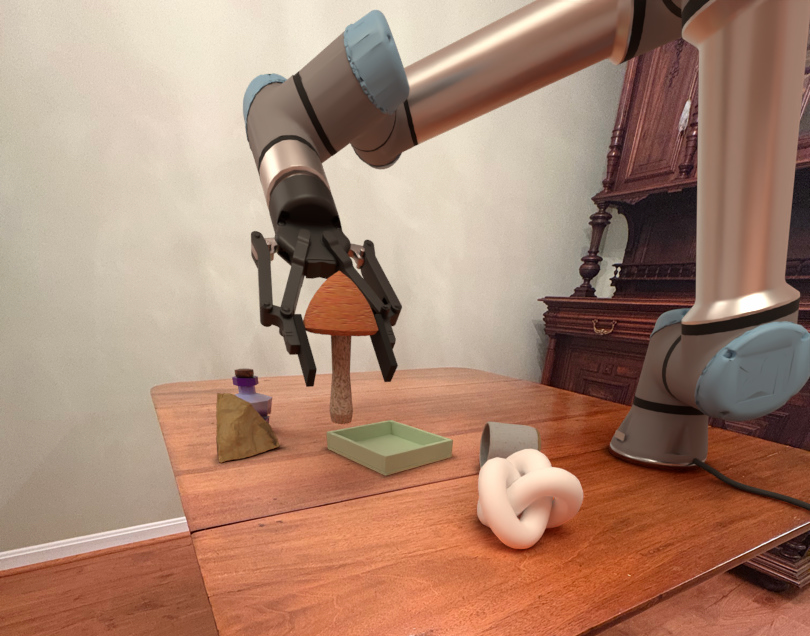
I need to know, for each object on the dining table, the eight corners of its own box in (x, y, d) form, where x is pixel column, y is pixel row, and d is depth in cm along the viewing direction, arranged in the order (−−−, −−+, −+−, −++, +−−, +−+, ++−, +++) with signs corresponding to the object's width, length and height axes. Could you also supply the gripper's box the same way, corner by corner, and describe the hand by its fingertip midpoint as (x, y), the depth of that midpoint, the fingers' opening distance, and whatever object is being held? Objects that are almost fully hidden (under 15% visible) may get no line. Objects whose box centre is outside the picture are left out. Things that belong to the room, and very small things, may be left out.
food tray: (451, 457, 73) (453, 439, 71) (385, 476, 65) (385, 456, 63) (391, 435, 84) (391, 419, 82) (327, 449, 75) (326, 431, 74)
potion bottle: (231, 443, 77) (218, 373, 71) (228, 431, 84) (216, 366, 78) (280, 439, 80) (271, 371, 74) (273, 427, 87) (265, 364, 81)
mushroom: (387, 429, 47) (386, 269, 40) (314, 434, 45) (299, 266, 38) (371, 413, 54) (368, 273, 46) (307, 416, 52) (293, 271, 44)
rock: (280, 428, 78) (221, 422, 75) (281, 395, 70) (216, 387, 68) (279, 478, 74) (217, 474, 71) (279, 449, 66) (210, 444, 63)
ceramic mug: (538, 479, 65) (547, 429, 61) (484, 479, 64) (491, 428, 61) (520, 458, 74) (527, 413, 70) (473, 457, 74) (478, 412, 70)
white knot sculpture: (448, 513, 54) (453, 444, 49) (531, 504, 57) (544, 438, 52) (487, 560, 44) (498, 479, 40) (585, 546, 47) (605, 470, 43)
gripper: (377, 242, 56) (428, 391, 51) (207, 230, 48) (248, 404, 43) (393, 182, 49) (454, 348, 44) (198, 156, 41) (246, 354, 37)
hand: (352, 375), depth 44 cm, fingers closed on mushroom, 8 cm apart
